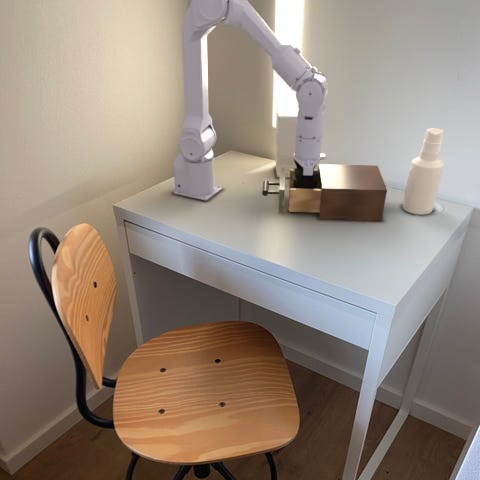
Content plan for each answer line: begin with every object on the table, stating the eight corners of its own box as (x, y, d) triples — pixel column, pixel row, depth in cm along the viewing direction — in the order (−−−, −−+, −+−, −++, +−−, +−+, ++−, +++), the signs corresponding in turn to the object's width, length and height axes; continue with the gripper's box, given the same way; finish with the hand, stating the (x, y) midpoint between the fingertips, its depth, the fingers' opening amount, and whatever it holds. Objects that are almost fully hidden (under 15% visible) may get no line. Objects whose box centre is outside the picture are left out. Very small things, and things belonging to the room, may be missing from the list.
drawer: (261, 213, 115) (261, 189, 112) (263, 189, 126) (263, 166, 122) (335, 215, 114) (338, 191, 111) (331, 191, 125) (334, 168, 121)
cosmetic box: (300, 178, 133) (305, 116, 124) (275, 178, 133) (277, 116, 124) (297, 166, 140) (302, 107, 130) (274, 166, 140) (276, 107, 130)
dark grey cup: (315, 202, 117) (317, 182, 114) (292, 201, 118) (294, 181, 115) (314, 192, 121) (316, 173, 119) (292, 191, 122) (293, 172, 119)
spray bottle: (433, 204, 120) (452, 127, 109) (431, 217, 115) (452, 137, 104) (403, 200, 122) (419, 124, 111) (400, 212, 117) (417, 133, 106)
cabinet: (318, 219, 114) (322, 188, 110) (316, 193, 126) (318, 164, 121) (381, 221, 114) (387, 190, 109) (372, 194, 125) (377, 165, 120)
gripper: (329, 146, 105) (323, 207, 113) (325, 125, 116) (319, 181, 124) (295, 145, 105) (291, 206, 113) (294, 124, 117) (291, 181, 125)
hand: (304, 193), depth 119 cm, fingers closed on dark grey cup, 5 cm apart
